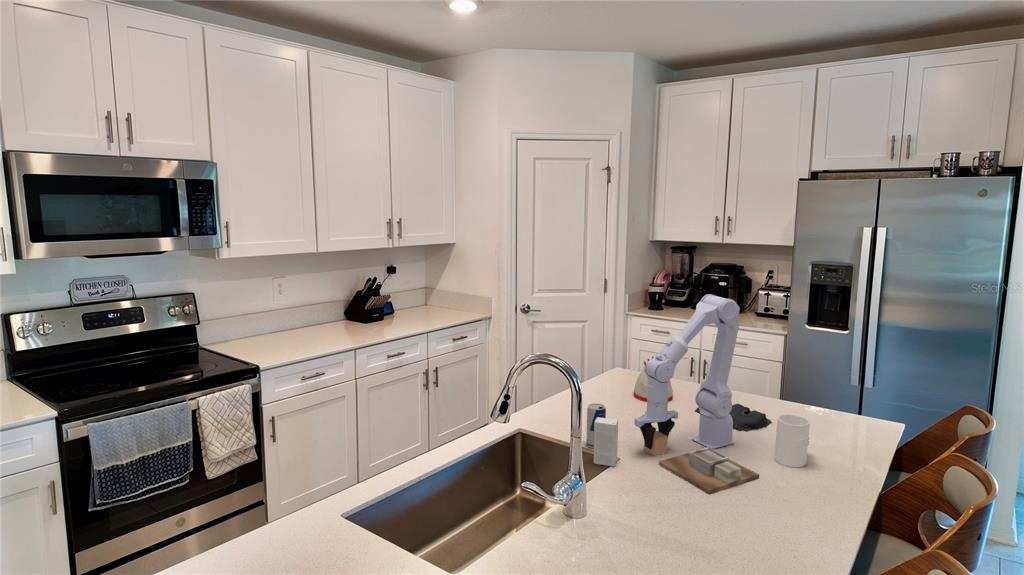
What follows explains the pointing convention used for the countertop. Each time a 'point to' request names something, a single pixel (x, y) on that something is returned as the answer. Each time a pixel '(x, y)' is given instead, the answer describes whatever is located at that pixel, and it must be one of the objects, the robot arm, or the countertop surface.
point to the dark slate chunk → (746, 418)
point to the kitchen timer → (642, 387)
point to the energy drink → (592, 415)
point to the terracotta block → (658, 444)
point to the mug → (792, 440)
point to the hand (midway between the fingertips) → (655, 445)
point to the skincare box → (605, 441)
